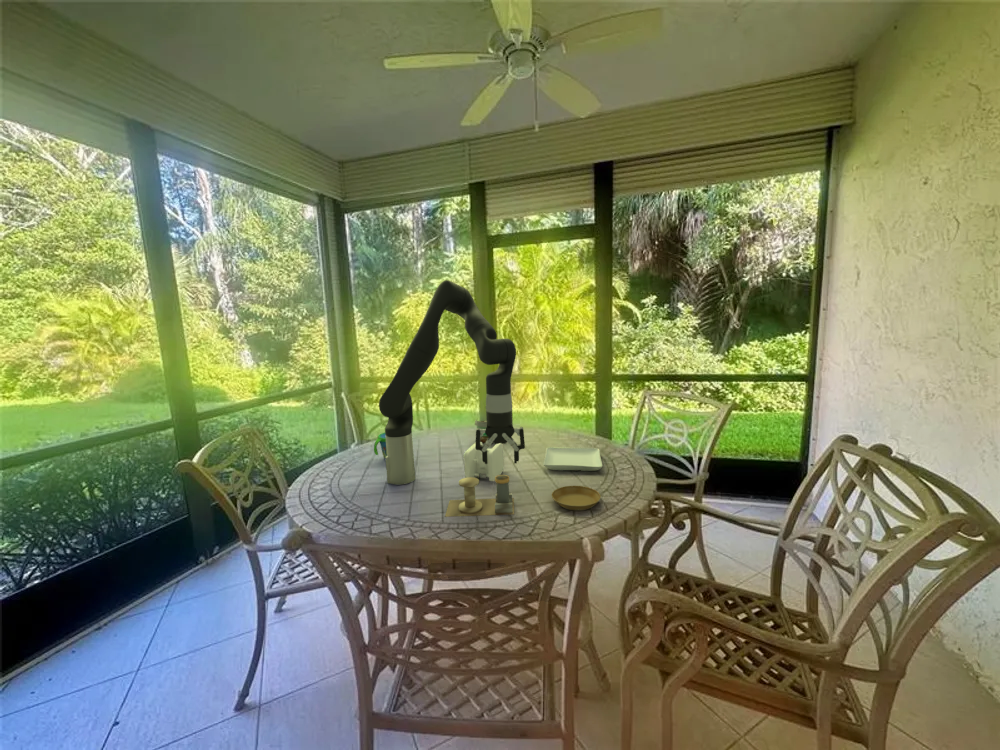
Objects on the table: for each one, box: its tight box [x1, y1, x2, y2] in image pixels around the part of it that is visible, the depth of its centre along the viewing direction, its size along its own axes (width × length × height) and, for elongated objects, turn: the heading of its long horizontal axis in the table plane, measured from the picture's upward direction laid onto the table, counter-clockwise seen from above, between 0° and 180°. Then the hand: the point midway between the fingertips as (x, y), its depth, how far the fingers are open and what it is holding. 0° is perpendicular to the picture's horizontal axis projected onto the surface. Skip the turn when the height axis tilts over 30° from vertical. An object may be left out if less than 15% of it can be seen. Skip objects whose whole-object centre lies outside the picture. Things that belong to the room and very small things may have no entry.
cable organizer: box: [462, 442, 505, 482], centre depth 156 cm, size 15×11×12 cm
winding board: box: [444, 492, 515, 518], centre depth 130 cm, size 20×11×4 cm, turn 89°
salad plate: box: [542, 446, 603, 472], centre depth 166 cm, size 21×21×3 cm
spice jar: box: [494, 474, 510, 503], centre depth 129 cm, size 4×4×9 cm
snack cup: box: [373, 432, 387, 460], centre depth 181 cm, size 16×10×10 cm
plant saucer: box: [551, 485, 601, 511], centre depth 133 cm, size 15×15×3 cm
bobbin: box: [458, 477, 482, 513], centre depth 129 cm, size 7×7×8 cm
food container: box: [474, 420, 494, 444], centre depth 197 cm, size 12×6×10 cm, turn 81°
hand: (500, 462), depth 127 cm, fingers open, 8 cm apart
